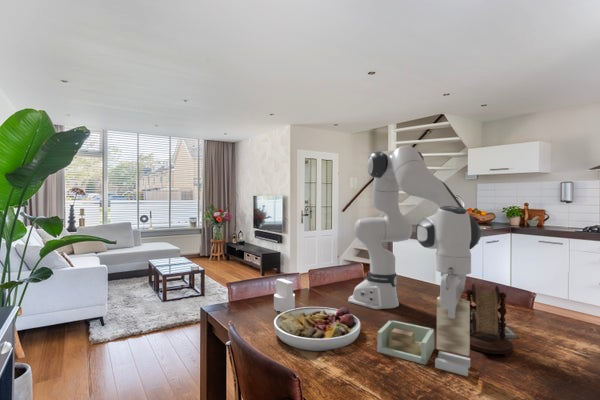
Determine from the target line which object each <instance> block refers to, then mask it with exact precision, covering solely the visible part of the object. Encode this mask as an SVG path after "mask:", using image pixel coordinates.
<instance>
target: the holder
mask: <svg viewBox="0 0 600 400" xmlns="http://www.w3.org/2000/svg"><path fill="white" fill-rule="evenodd" d="M437 354H438V355H437V357H435V360H434V368H435V369H439V370H443V371H446V372H450V373H452V374H453V373H454V374H457V375H461V376H465V377H468V376H469V369H471V358H470V357H468V356H464V355H463V356H462V355H460V354H455V353H451V352H447V351H443V350H438V353H437Z"/></svg>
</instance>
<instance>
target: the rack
mask: <svg viewBox="0 0 600 400" xmlns="http://www.w3.org/2000/svg"><path fill="white" fill-rule="evenodd" d="M394 328H396V329H400V330H405V331H409V332H414V341H417V342H421V355H420V356H417V355H413V354H409V353H405V352H401V351H398V350H394V349H390V338H391V331H392V330H393V329H394ZM376 335H377V337H376V338H377V341H376V344H377V345H376V346H377V347H376V349H377V350H376V351H377V353H380V354H384V355H387V356H392V357H394V358H398V359H402V360H406V361H410V362H413V363H417V364H421V365H425V366H426V365H427V364H428V362H429V359H430V357H431V356H432V355H433V354H432V353H433V352H434V351H435V328H431V327H427V326H422V325H421V326H420V325H417V324H413V323H408V322H403V321H398V320H393V319H389V320H388V321H387V322H386V323H385V324H384V325H383V326H382V327H380V329H379V330H378V331H377V332H376Z"/></svg>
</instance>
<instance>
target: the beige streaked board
mask: <svg viewBox="0 0 600 400" xmlns="http://www.w3.org/2000/svg"><path fill="white" fill-rule="evenodd" d="M436 350H439V351H443V352H448V353H452V354H456V355H460V356H462V355H463V356H465V357H470V352H471V349H470V301H466V300H465V299H459V301H458V303H457V306H456V317H455V318H454V319H453V318H449V317H448V309H447V308H446V307H442V306H441V305H440V295H439V296H437V298H436Z"/></svg>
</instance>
